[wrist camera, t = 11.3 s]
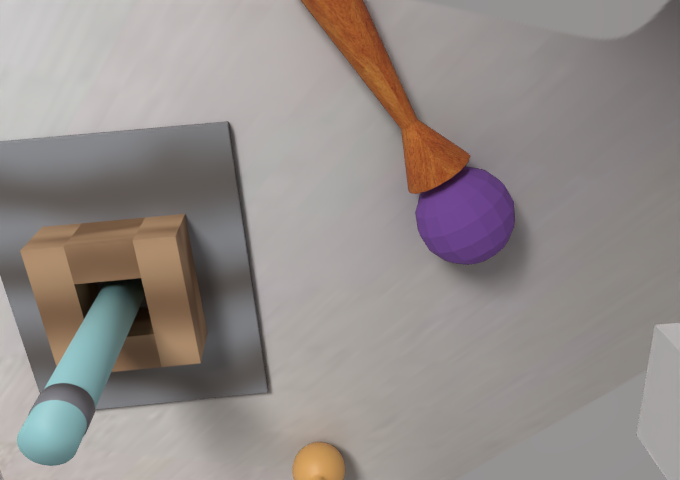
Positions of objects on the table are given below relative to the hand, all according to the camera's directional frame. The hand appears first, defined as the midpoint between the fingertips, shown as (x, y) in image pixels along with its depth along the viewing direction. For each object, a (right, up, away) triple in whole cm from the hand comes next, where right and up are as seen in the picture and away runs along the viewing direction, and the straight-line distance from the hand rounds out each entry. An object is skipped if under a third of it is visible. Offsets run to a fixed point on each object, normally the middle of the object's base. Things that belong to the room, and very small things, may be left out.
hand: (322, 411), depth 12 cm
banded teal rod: (-14, 0, +30) cm, 33 cm away
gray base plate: (-14, +1, +30) cm, 33 cm away
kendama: (+4, +11, +27) cm, 30 cm away
